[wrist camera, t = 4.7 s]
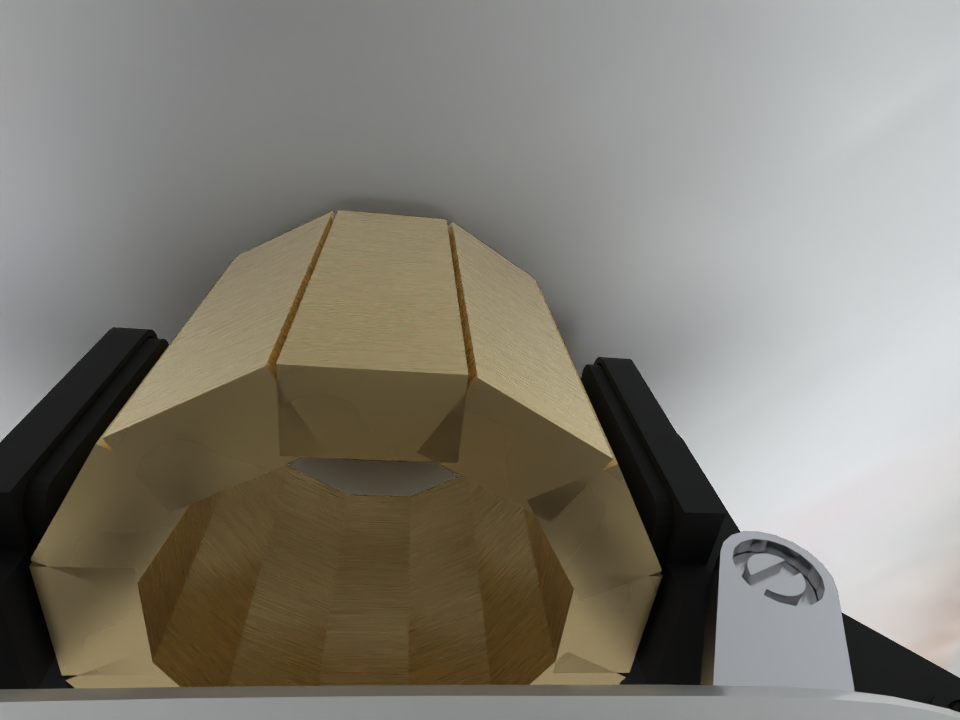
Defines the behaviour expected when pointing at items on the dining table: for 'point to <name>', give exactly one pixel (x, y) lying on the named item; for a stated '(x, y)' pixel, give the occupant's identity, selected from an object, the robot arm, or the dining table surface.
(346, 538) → the ring
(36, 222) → the dining table surface
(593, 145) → the dining table surface
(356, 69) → the dining table surface
